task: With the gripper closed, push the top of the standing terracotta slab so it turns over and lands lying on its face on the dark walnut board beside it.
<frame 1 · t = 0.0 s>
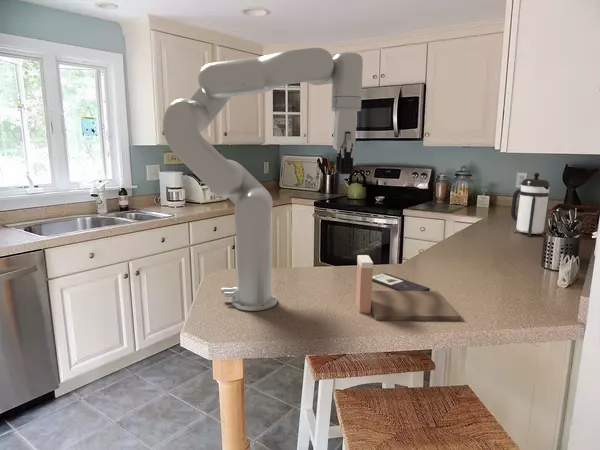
hand: (343, 172, 113), 37 cm above the kitchen counter, tool pointing down, fingers open, 9 cm apart
board: (408, 306, 119), on the kitchen counter
coffee press: (526, 233, 211), on the kitchen counter
chocolate bar: (397, 286, 137), on the kitchen counter
slab: (362, 307, 118), on the kitchen counter
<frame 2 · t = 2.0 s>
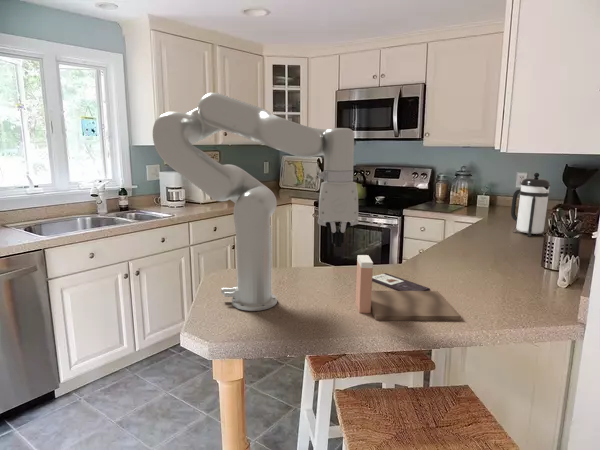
hand: (337, 246, 114), 17 cm above the kitchen counter, tool pointing down, fingers closed
nothing on the kitchen counter moved.
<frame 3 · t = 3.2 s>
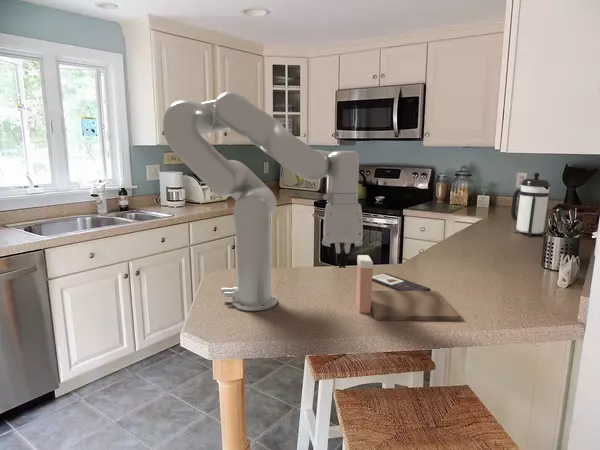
hand: (341, 266, 115), 12 cm above the kitchen counter, tool pointing down, fingers closed
nothing on the kitchen counter moved.
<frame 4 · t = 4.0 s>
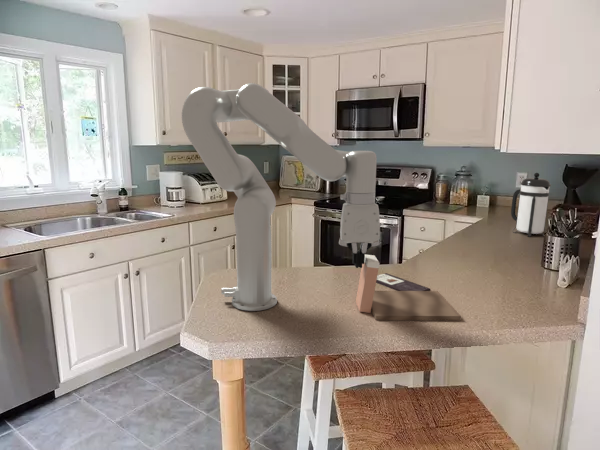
hand: (358, 266, 115), 12 cm above the kitchen counter, tool pointing down, fingers closed
slab: (362, 307, 118), on the kitchen counter, tilted 7°, touching gripper
everything else where it was.
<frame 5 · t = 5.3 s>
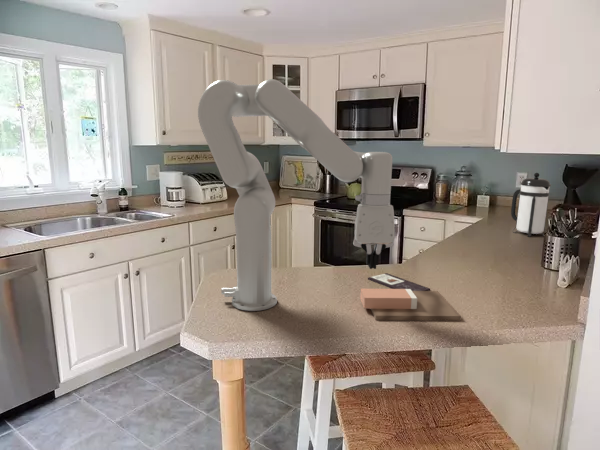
hand: (372, 267, 115), 12 cm above the kitchen counter, tool pointing down, fingers closed
slab: (362, 298, 117), point 3 cm above the kitchen counter, tilted 90°, touching board
everything else where it was.
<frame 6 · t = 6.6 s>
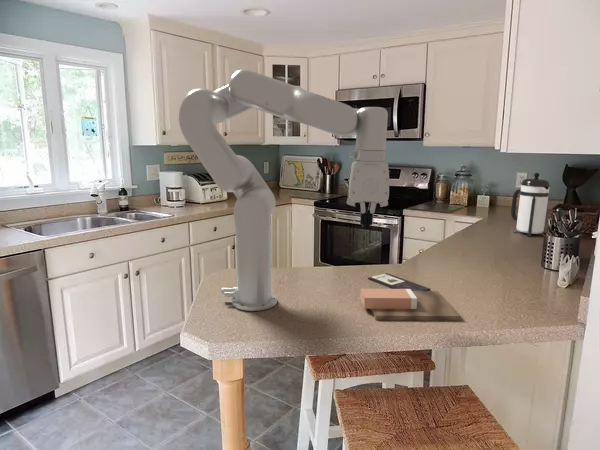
hand: (365, 227, 113), 23 cm above the kitchen counter, tool pointing down, fingers closed
nothing on the kitchen counter moved.
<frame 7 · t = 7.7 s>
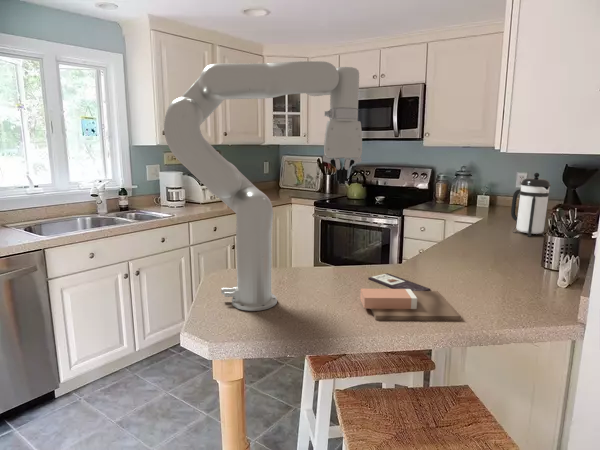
hand: (341, 183, 120), 33 cm above the kitchen counter, tool pointing down, fingers closed
nothing on the kitchen counter moved.
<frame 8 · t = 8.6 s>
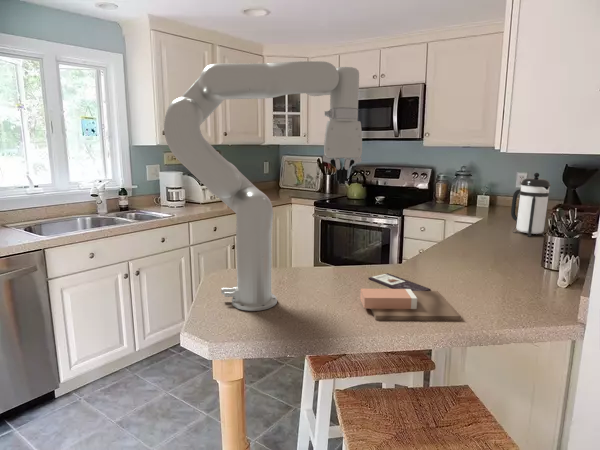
hand: (341, 183, 120), 33 cm above the kitchen counter, tool pointing down, fingers closed
nothing on the kitchen counter moved.
at the end: slab tilted 90°; slab touching board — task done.
